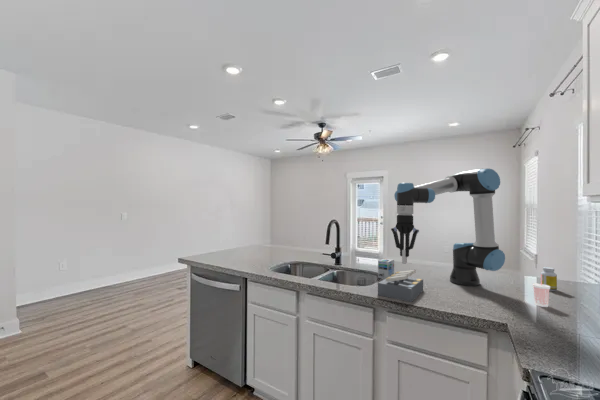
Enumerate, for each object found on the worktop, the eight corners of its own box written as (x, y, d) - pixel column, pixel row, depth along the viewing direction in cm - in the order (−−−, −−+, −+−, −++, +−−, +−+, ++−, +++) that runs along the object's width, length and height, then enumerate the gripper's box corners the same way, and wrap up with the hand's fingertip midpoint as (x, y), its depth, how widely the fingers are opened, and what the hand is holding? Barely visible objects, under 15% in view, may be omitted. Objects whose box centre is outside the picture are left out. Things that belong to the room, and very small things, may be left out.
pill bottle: (560, 291, 148) (560, 269, 149) (547, 291, 149) (547, 269, 149) (549, 287, 155) (549, 266, 155) (537, 287, 155) (537, 266, 155)
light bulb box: (388, 280, 168) (388, 262, 168) (377, 278, 172) (377, 260, 172) (394, 276, 177) (394, 259, 177) (384, 274, 181) (384, 258, 181)
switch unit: (423, 290, 148) (423, 276, 148) (411, 301, 131) (411, 286, 131) (392, 285, 158) (393, 272, 158) (377, 294, 140) (377, 280, 140)
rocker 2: (412, 274, 143) (411, 271, 143) (410, 276, 140) (409, 273, 140) (393, 277, 149) (392, 274, 149) (391, 278, 146) (390, 275, 146)
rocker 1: (408, 277, 137) (407, 274, 137) (405, 279, 134) (404, 275, 135) (388, 280, 143) (387, 277, 143) (386, 281, 140) (385, 278, 140)
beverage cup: (538, 307, 125) (538, 275, 125) (529, 302, 131) (529, 272, 131) (554, 308, 124) (553, 276, 125) (544, 303, 130) (543, 272, 131)
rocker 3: (416, 272, 148) (415, 269, 149) (414, 273, 145) (413, 270, 146) (397, 274, 154) (397, 271, 154) (395, 275, 151) (394, 273, 152)
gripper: (389, 214, 138) (388, 262, 137) (416, 215, 130) (416, 266, 129) (394, 214, 144) (393, 260, 143) (421, 215, 136) (420, 264, 135)
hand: (404, 263), depth 136 cm, fingers closed
